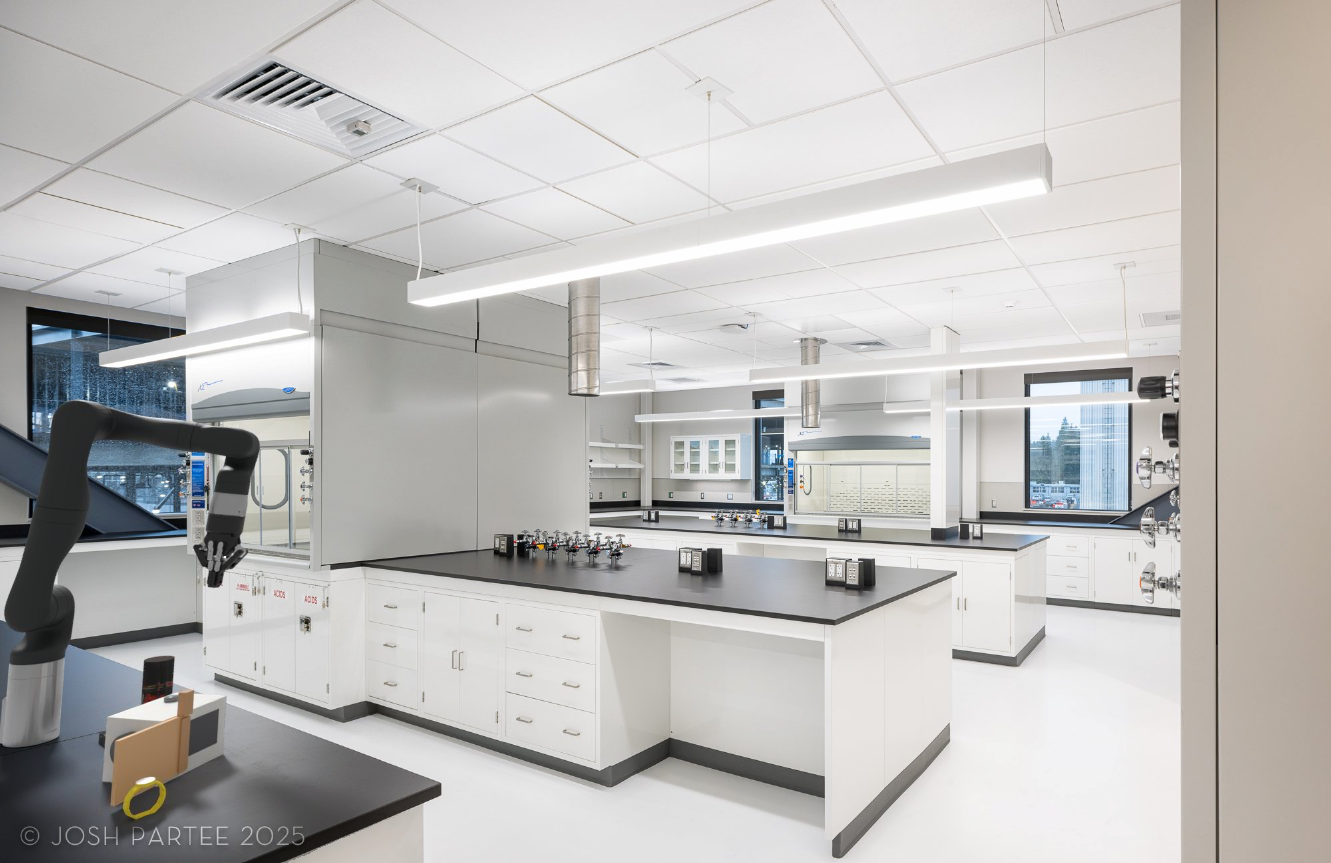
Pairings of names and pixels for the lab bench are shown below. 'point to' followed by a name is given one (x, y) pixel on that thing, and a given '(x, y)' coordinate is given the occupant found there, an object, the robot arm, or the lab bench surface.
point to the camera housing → (203, 724)
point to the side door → (153, 752)
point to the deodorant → (157, 678)
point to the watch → (142, 784)
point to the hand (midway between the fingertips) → (213, 587)
